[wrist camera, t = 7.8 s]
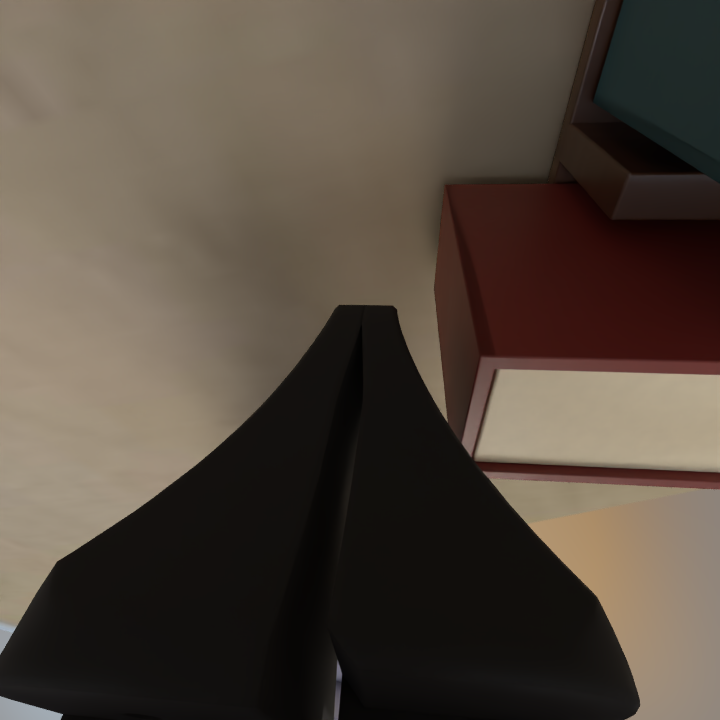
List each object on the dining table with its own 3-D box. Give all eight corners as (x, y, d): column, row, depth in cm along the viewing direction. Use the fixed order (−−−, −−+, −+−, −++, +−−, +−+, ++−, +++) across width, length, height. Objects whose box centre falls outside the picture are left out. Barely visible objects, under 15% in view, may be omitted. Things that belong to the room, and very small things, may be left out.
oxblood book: (702, 290, 14) (904, 499, 8) (434, 287, 15) (453, 477, 9) (771, 181, 11) (1120, 371, 6) (444, 183, 12) (480, 356, 7)
